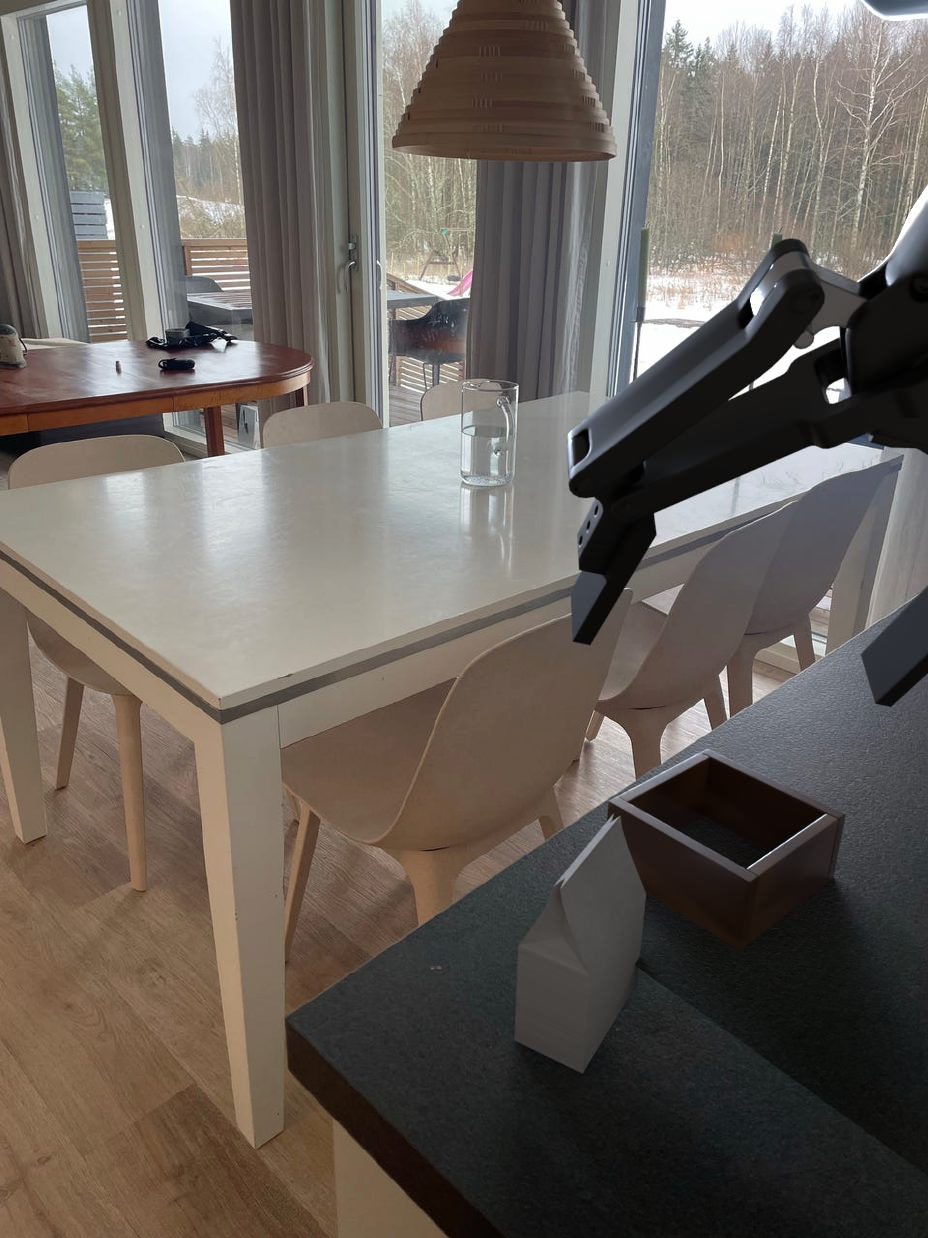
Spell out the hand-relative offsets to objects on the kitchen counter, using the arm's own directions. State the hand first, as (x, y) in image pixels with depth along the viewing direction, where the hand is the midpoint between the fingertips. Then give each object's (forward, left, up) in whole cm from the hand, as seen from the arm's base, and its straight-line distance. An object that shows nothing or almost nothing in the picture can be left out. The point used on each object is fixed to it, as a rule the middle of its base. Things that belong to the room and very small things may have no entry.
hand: (731, 650), depth 39 cm
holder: (-9, -5, -21) cm, 23 cm away
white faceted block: (+4, -4, -21) cm, 21 cm away
